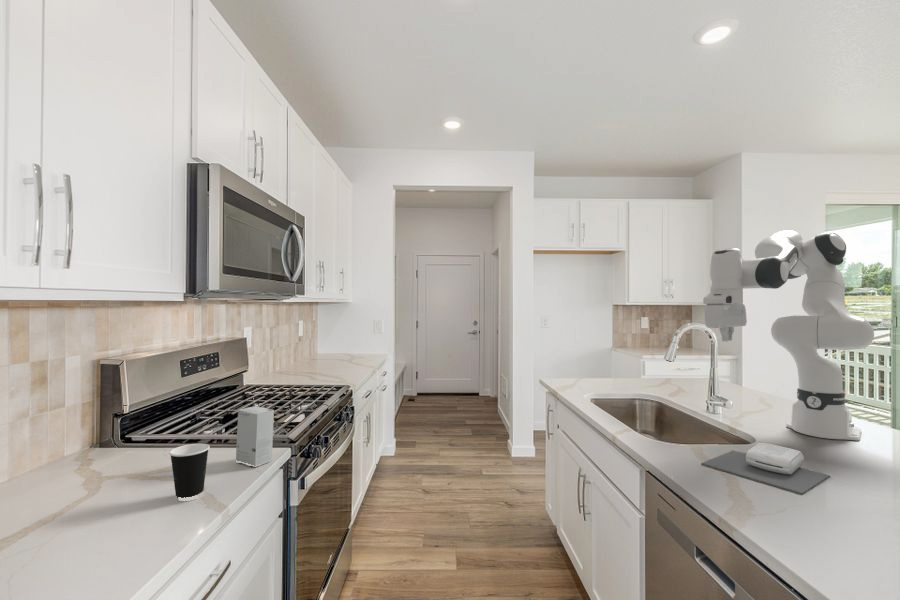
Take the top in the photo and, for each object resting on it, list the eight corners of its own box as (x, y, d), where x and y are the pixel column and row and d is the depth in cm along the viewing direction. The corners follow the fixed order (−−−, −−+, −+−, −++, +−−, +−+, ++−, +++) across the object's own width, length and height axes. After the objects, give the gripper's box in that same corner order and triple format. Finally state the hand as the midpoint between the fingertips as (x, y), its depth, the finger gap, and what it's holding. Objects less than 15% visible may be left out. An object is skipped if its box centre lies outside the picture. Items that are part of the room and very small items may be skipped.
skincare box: (235, 463, 118) (235, 409, 118) (254, 456, 124) (254, 405, 124) (256, 468, 114) (256, 413, 114) (274, 461, 120) (274, 408, 120)
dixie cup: (160, 502, 95) (160, 452, 95) (193, 487, 103) (193, 441, 103) (186, 507, 93) (186, 456, 93) (217, 492, 100) (217, 445, 100)
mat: (733, 451, 125) (733, 450, 125) (830, 476, 107) (830, 475, 107) (701, 464, 115) (701, 463, 115) (802, 494, 97) (802, 493, 97)
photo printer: (757, 455, 120) (742, 466, 112) (757, 440, 120) (742, 450, 112) (804, 466, 112) (791, 479, 104) (804, 450, 112) (791, 462, 104)
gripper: (731, 298, 147) (731, 339, 147) (700, 298, 136) (700, 342, 135) (752, 298, 141) (752, 340, 141) (721, 298, 130) (722, 343, 130)
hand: (727, 341), depth 138 cm, fingers closed
